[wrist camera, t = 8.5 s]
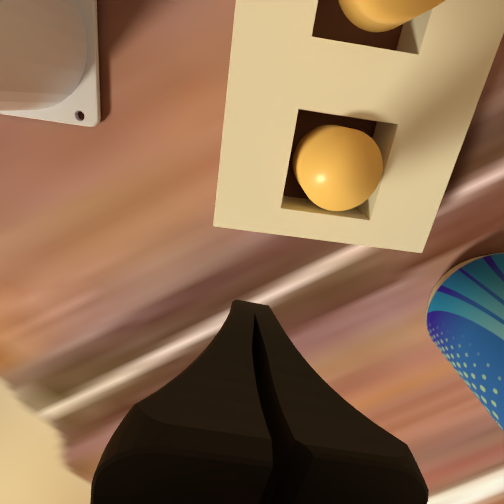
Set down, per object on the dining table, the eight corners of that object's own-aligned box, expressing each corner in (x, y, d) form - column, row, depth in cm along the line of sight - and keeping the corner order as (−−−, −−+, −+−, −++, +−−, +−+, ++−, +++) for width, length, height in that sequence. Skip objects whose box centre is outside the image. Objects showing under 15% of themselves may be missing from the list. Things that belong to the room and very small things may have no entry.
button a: (286, 190, 20) (293, 205, 17) (300, 119, 19) (310, 122, 16) (351, 199, 20) (370, 215, 17) (369, 130, 19) (393, 134, 16)
